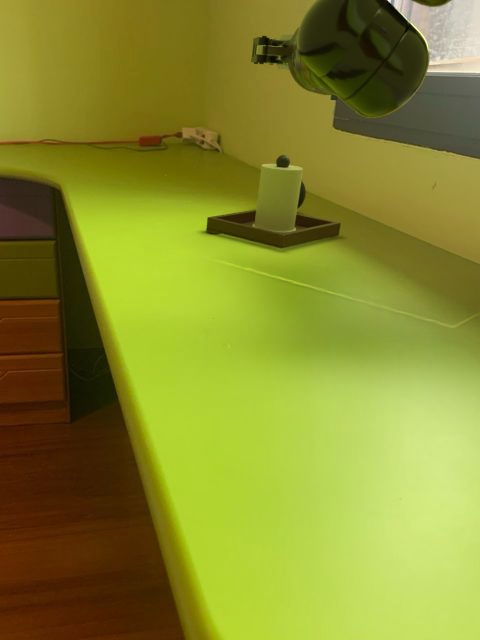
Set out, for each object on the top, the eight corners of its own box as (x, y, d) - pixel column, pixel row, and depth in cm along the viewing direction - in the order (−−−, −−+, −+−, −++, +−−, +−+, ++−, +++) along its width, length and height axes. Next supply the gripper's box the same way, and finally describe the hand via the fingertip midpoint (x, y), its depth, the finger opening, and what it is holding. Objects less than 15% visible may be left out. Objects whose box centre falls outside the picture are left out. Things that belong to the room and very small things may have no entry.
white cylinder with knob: (267, 224, 108) (277, 151, 103) (303, 232, 105) (315, 156, 99) (243, 229, 104) (252, 153, 99) (280, 238, 100) (291, 159, 95)
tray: (266, 221, 114) (268, 207, 113) (338, 237, 106) (341, 222, 105) (205, 232, 103) (207, 217, 102) (280, 251, 96) (283, 235, 94)
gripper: (409, 14, 67) (373, 23, 82) (263, 4, 68) (253, 15, 82) (392, 99, 71) (360, 93, 85) (254, 89, 71) (245, 85, 85)
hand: (308, 55), depth 84 cm, fingers open, 8 cm apart
